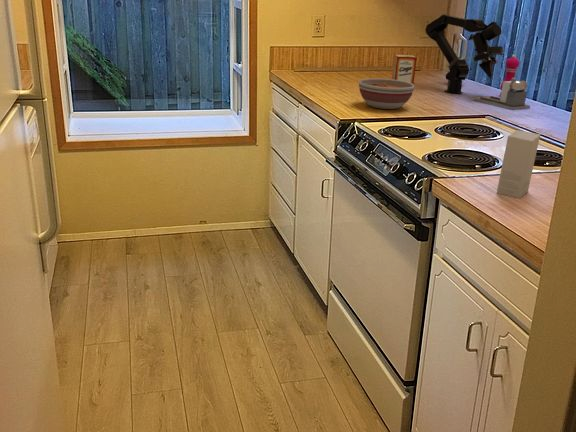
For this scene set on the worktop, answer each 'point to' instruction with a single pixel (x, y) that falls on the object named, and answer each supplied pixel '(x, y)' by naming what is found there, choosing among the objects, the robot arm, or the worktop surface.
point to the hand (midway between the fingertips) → (490, 77)
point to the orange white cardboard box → (404, 68)
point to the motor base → (509, 97)
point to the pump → (505, 90)
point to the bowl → (385, 92)
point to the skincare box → (518, 163)
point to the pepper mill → (510, 69)
